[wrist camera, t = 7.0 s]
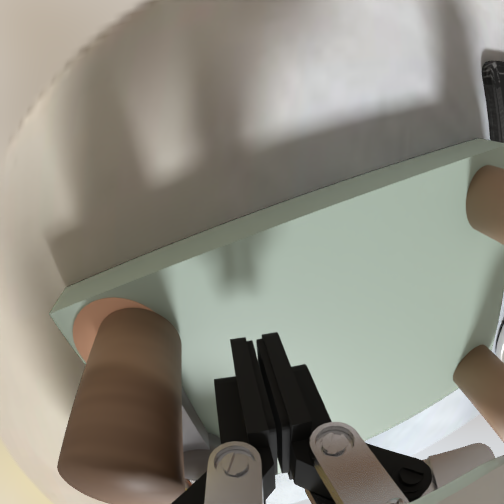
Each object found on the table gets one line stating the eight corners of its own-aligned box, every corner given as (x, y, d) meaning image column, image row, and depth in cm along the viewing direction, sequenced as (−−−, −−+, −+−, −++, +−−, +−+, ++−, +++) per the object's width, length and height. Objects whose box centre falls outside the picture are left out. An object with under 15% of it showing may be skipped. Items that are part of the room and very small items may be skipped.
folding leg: (235, 450, 16) (254, 546, 10) (178, 460, 16) (185, 554, 10) (164, 298, 12) (150, 449, 6) (83, 318, 11) (32, 452, 5)
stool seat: (478, 138, 14) (611, 176, 6) (470, 352, 22) (533, 420, 13) (65, 287, 14) (-16, 441, 5) (208, 466, 21) (222, 568, 13)
